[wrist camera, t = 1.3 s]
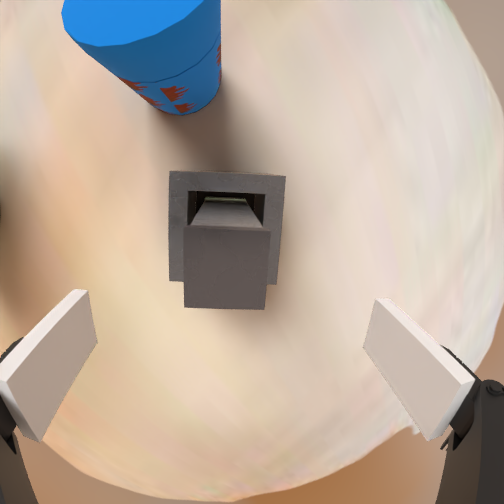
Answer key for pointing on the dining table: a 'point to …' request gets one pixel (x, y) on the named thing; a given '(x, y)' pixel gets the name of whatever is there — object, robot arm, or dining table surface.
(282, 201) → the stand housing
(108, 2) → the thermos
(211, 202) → the column
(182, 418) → the dining table surface
